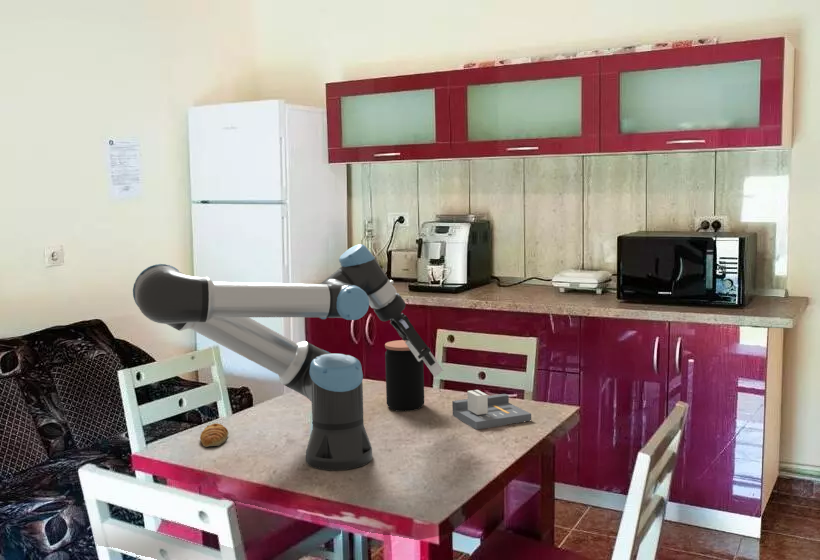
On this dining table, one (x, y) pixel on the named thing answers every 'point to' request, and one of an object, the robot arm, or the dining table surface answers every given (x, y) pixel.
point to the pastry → (214, 435)
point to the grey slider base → (490, 413)
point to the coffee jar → (403, 377)
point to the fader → (477, 402)
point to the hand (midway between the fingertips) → (430, 365)
